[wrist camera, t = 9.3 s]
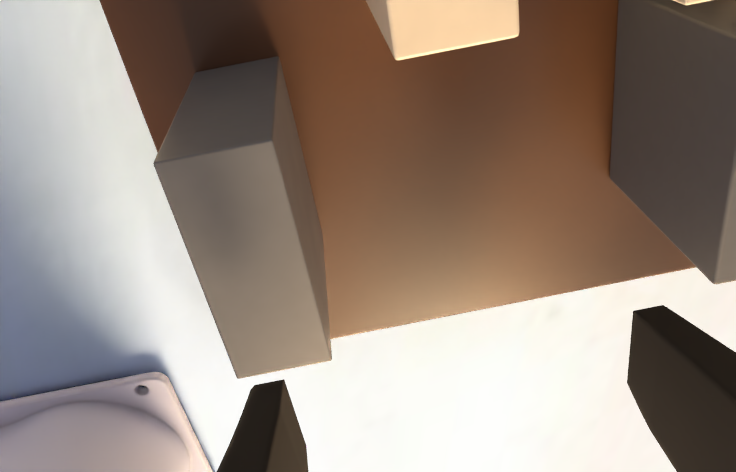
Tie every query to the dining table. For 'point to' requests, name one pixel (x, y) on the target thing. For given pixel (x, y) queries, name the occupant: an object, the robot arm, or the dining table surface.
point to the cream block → (690, 1)
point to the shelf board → (427, 148)
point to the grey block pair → (298, 211)
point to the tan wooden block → (443, 24)
